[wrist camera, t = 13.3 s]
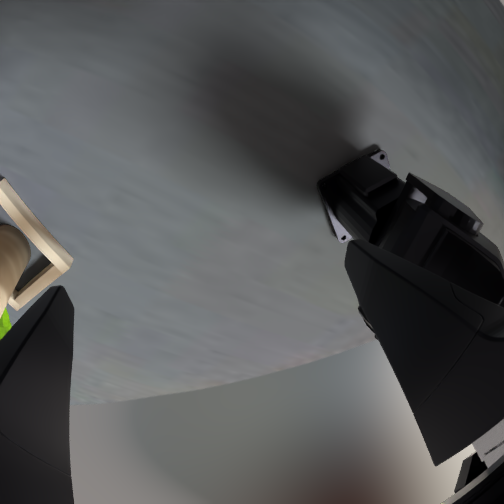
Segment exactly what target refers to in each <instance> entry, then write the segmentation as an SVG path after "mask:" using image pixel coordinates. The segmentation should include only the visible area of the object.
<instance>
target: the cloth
mask: <svg viewBox="0 0 504 504" xmlns="http://www.w3.org/2000/svg"><path fill="white" fill-rule="evenodd" d="M10 329H11V323H10V320H9V315H8V313H7V310H6V307H5V309H4V311H3V314H2V316H1V318H0V340H1V339H2V338H3V336H4V335H5V334H6V333H7V332H8V331H9V330H10Z"/></svg>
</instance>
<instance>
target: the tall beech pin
mask: <svg viewBox="0 0 504 504" xmlns="http://www.w3.org/2000/svg"><path fill="white" fill-rule="evenodd" d="M30 256H31V250H30V246H29V243H28V241H27V239H26V238H25V236H24V235H23V234H22V233H21V232H20V231H19V230H18V229H16V228H15V227H13V226H10V225H0V318H1V316H2V314H3V311H4V309H5V307H6V305H7V303H8V301H9V299H10V297H11V295H12V293H13V291H14V289H15V287H16V285H17V283H18V281H19V279H20V277H21V275H22V273H23V271H24V269H25V268H26V266H27V264H28V262H29V260H30Z"/></svg>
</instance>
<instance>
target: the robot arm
mask: <svg viewBox="0 0 504 504" xmlns="http://www.w3.org/2000/svg"><path fill="white" fill-rule="evenodd" d="M381 154H382V157H381V158H380V155H381ZM406 180H407V181H406V183H405V182H404V181H402V180H401V179H399V178H398V177H397V175H396V174H395V173H394V172H392V171H391V170H390V165H389V161H388V157H387V154H386V152H385V151H383V150H377V151H375V152H373V153H371V154H369V155H367V156H366V155H365V156H363V157H361V158H359V159H357V160H355V161H353V162H351V163H349V164H347V165H345V166H343V167H341V168H340V169H339V170H338V171H336V172H334V173H332V174H331V175H329V176H327V177H325V178H323V179H321V180H320V181H319V182H318V184H317V188H318V190H319V193H320V195H321V198H322V200H323V203H324V205H325V208H326V211H327V213H328V216H329V218H330V221H331V224H332V226H333V229H334V232H335V234H336V237H337V239H338V240H339V242H341V243H344V242H346V241H348V240H349V239H351V238H353V239H354V240H351V241H349V243H348V246H347V251H346V257H345V268H346V271H347V273H348V276H349V278H350V281H351V283H352V285H353V288H354V290H355V293H356V295H357V298H358V302H359V307H358V310H359V313H360V314H361V316H362V317H363V319H364V321H365V323H366V325H367V326H368V327H369V328H370V329H371V331H373V332H374V333H375V338H376V339H377V340H379V342H380V344H381V346H382V348H383V350H384V352H385V354H386V356H387V358H388V360H389V362H390V364H391V366H392V368H393V371H394V373H395V375H396V377H397V379H398V381H399V383H400V385H401V388H402V390H403V392H404V394H405V396H406V399H407V401H408V403H409V405H410V407H411V410H412V412H413V413H414V417H415V419H416V421H417V424H418V426H419V429H420V431H421V433H422V436H423V438H424V441H425V443H426V446H427V448H428V451H429V453H430V455H431V458H432V461H433V463H434V465H435V466H438V465H439V464H441V463H443V462H444V461H446V460H447V459H449V458H450V457H452V456H454V455H455V454H457V453H458V452H460V451H461V450H463V449H464V448H466V447H467V446H469V445H470V444H473V446H474V448H475V450H476V451H475V452H474V453H473V454H472V455H470V456H469V457H468V458H466V459H465V460H463V463H462V467H461V471H460V474H459V477H458V481H457V484H456V487H455V490H454V492H455V494H454V495H453V496H451V497H450V498H448V499H447V500H445V501H444V502H442V503H441V504H504V262H503V259H502V256H501V254H500V251H499V249H498V247H497V246H496V245H495V244H494V243H492V242H491V241H490V240H489V239H488V238H486V237H485V236H484V235H483V234H481V233H480V230H481V228H482V226H483V223H482V221H481V220H480V219H479V218H478V217H477V216H476V215H475V214H474V213H473V212H472V211H471V209H470V208H469V207H467V206H466V205H465V204H463V203H462V202H460V201H459V200H457V199H456V198H455V197H453V196H452V195H450V194H449V193H447V192H445V191H444V190H442V189H440V188H438V187H436V186H435V185H433V184H431V183H429V182H427V181H425V180H423V179H421V178H419V177H417V176H415V175H413V174H411V173H408V176H407V178H406ZM324 184H326V186H325V187H324V188H322V186H323V185H324ZM342 236H344V237H343V238H341V237H342ZM73 331H74V307H73V304H72V302H71V300H70V298H69V296H68V294H67V292H66V290H65V288H64V287H63V286H61V285H59V286H52V287H50V288H49V289H48V290H47V291H46V292H45V293H44V294H43V295H42V296H41V297H40V298H39V299H38V300H37V301H36V302H35V303H34V304H33V305H32V306H31V307H30V308H29V309H28V310H27V311H26V312H25V313H24V315H23V316H22V317H21V318H20V319H19V320H18V321H17V322H16V323H15V324H14V325H13V326H12V327H11V329H10V330H9V331H8V332H7V333H6V334H5V335H4V336H3V338H2V339H1V340H0V504H74V498H73V490H72V479H71V468H70V448H69V407H70V386H71V372H72V361H73Z"/></svg>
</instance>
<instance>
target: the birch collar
mask: <svg viewBox="0 0 504 504" xmlns="http://www.w3.org/2000/svg"><path fill="white" fill-rule="evenodd" d="M0 204H1V206H2V207H3V208H4V209H5V211H6V212H7V213H8V214H9V216H10V217H11V218H12V219H13V220H14V222H15V223H16V224H17V225H18V226H19V227H20V229H21V230H22V231H23V232H24V233H25V234H26V235H27V237H28V238H29V239H30V240H31V241H32V242H33V243H34V244H35V245H36V246H37V248H38V249H39V250H40V251H41V252H42V253H43V254H44V255H45V256H46V257H47V258H48V259H49V260H50V261H51V263H50V264H49V265H48V266H47V267H46V268H44V269H43V270H42V271H41V272H40V273H39V274H37V275H36V276H35V277H34V278H33V279H32V280H31V281H29V282H28V283H27V284H26V285H25V286H24V287H23V288H22V289H21V290H20V291H17V290H16V289H14V291H13V293H12V295H11V297H10V299H9V301H8V303H9V304H10V305H11V306H12V307H13V308H14V309H15V310H17V311H18V310H19V309H20V308H21V307H22V306H24V305H25V304H26V303H27V302H28V301H30V300H31V299H32V298H33V297H34V296H36V295H37V294H38V293H39V292H40V291H42V290H43V289H44V288H45V287H47V286H48V285H49V284H50V283H52V282H53V281H54V280H55V279H57V278H58V277H59V276H60V275H62V274H63V273H64V272H66V271H67V270H68V269H70V267H71V265H72V262H73V260H74V259H73V258H72V257H71V256H70V255H69V254H68V252H67V251H66V250H65V249H64V248H63V247H62V246H61V245H60V244H59V243H58V242H57V241H56V240H55V238H54V237H53V236H52V235H51V234H50V233H49V232H48V231H47V229H46V228H45V227H44V226H43V225H42V224H41V223H40V221H39V220H38V219H37V218H36V217H35V216H34V214H33V213H32V212H31V211H30V210H29V208H28V207H27V206H26V205H25V203H24V202H23V201H22V200H21V198H20V197H19V196H18V195H17V193H16V192H15V191H14V190H13V188H12V187H11V186H10V184H9V183H8V182H7V180H6V179H5V178H4V179H3V180H2V181H0Z"/></svg>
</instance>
